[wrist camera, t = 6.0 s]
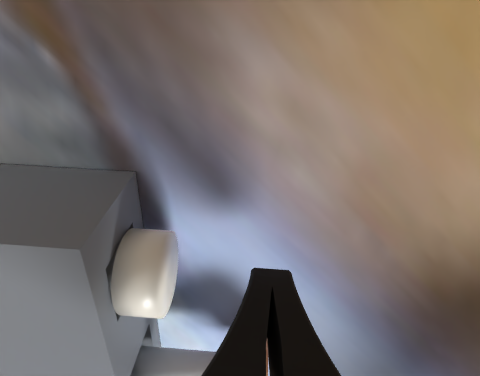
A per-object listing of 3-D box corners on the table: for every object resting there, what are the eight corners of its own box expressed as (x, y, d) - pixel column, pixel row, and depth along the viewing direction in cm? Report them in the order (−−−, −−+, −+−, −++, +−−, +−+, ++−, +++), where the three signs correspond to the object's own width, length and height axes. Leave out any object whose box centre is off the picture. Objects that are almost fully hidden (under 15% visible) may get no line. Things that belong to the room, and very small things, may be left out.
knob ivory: (175, 214, 14) (151, 272, 11) (180, 273, 15) (160, 337, 12) (15, 203, 14) (-48, 258, 11) (37, 263, 16) (-13, 323, 13)
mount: (60, 348, 20) (8, 438, 16) (-12, 163, 14) (-125, 235, 10) (162, 357, 20) (135, 452, 16) (135, 171, 14) (79, 249, 10)
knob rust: (268, 323, 16) (268, 391, 14) (264, 363, 18) (263, 431, 15) (134, 312, 17) (107, 377, 14) (142, 353, 18) (119, 418, 16)
